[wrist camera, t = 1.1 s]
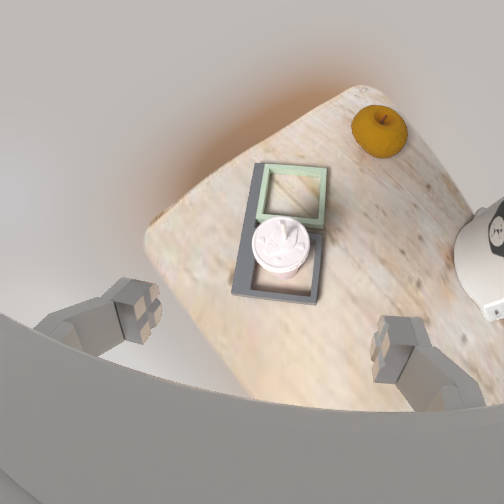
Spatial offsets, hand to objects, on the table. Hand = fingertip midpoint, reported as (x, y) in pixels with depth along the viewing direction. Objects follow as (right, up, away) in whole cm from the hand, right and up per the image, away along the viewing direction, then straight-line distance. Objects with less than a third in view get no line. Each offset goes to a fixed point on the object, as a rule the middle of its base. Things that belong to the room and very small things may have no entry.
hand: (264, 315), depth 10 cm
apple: (+20, +19, +36) cm, 45 cm away
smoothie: (+4, 0, +31) cm, 32 cm away
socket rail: (+5, +5, +33) cm, 34 cm away
